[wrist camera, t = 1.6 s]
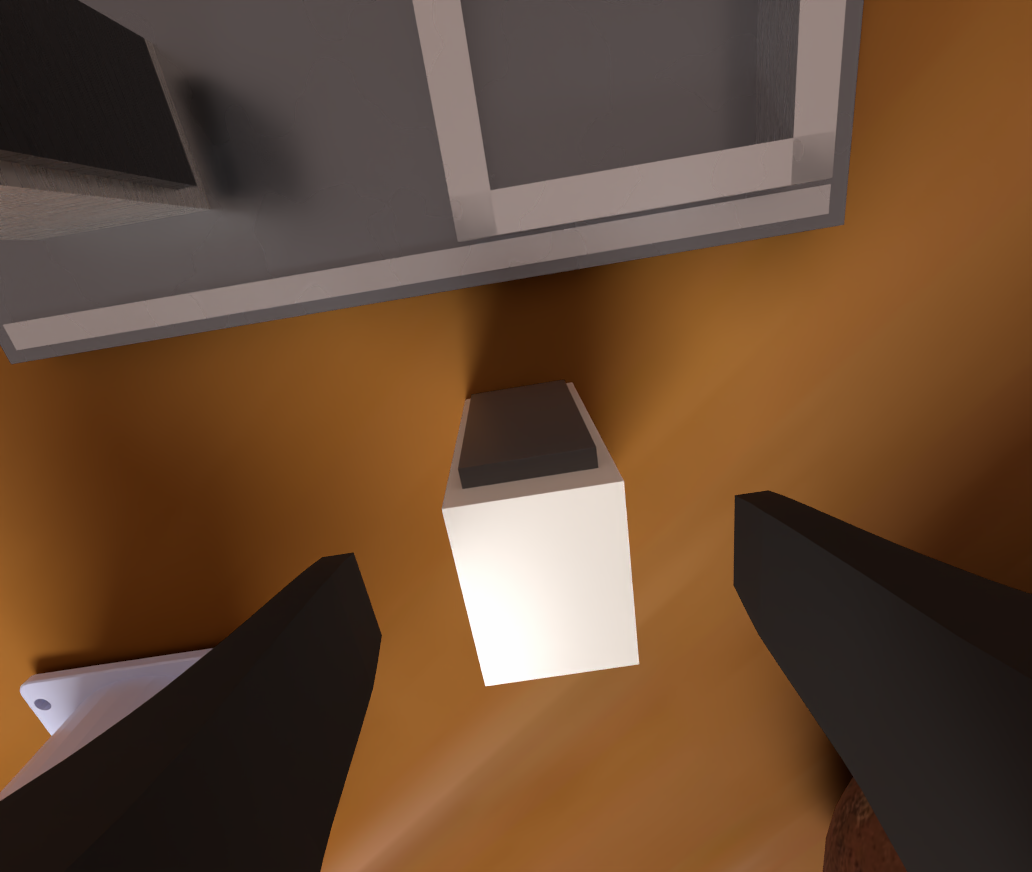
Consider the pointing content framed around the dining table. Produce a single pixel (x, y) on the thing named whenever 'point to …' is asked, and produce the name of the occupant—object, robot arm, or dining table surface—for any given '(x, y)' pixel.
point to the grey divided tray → (392, 149)
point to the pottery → (858, 838)
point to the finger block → (540, 536)
